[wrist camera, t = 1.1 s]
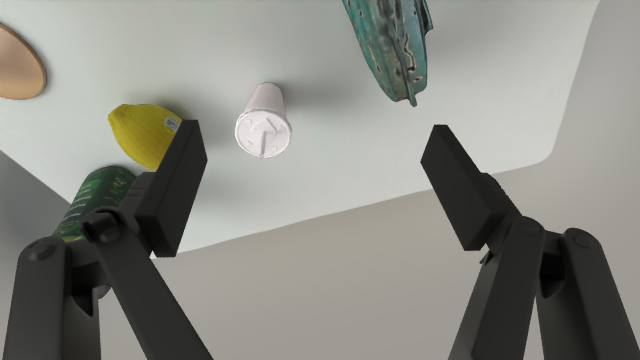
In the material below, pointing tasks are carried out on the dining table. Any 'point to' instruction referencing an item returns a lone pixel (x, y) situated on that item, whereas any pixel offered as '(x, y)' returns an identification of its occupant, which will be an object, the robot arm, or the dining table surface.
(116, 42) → the dining table surface
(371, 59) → the ceramic cat
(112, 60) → the dining table surface
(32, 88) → the cork coaster
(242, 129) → the white drink cup
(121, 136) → the lemon
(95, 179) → the coffee jar
